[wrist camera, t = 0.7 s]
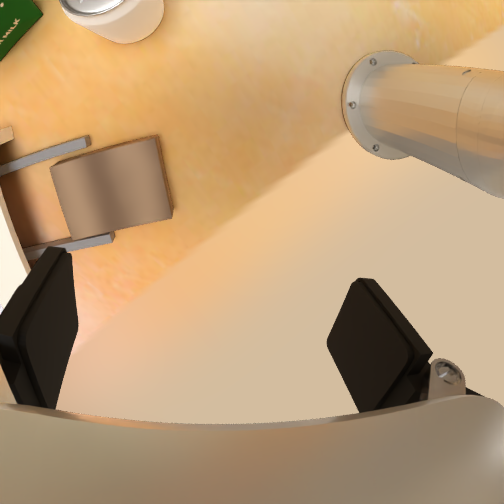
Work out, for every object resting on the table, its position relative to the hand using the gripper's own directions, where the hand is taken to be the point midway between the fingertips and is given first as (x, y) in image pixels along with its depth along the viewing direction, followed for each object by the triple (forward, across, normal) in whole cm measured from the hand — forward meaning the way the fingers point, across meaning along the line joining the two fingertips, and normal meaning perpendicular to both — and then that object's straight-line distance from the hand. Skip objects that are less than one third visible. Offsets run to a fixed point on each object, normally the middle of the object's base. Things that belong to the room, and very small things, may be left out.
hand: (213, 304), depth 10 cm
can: (+24, +9, -13) cm, 29 cm away
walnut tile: (+24, +8, +4) cm, 26 cm away
